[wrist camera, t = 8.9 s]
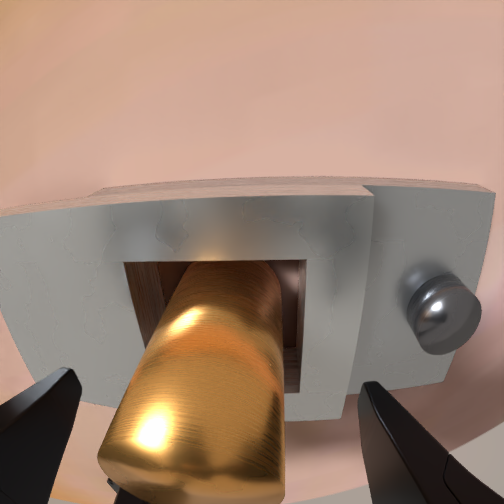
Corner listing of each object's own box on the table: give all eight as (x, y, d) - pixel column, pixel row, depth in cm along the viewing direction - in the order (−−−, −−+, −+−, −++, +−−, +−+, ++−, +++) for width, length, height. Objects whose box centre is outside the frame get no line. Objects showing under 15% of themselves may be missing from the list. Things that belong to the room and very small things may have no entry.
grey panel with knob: (433, 363, 15) (452, 401, 12) (62, 358, 17) (40, 390, 14) (476, 184, 11) (517, 203, 8) (11, 201, 13) (-29, 220, 10)
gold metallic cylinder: (281, 334, 15) (282, 521, 6) (188, 334, 15) (132, 504, 7) (281, 247, 13) (289, 449, 5) (174, 249, 13) (67, 421, 5)
